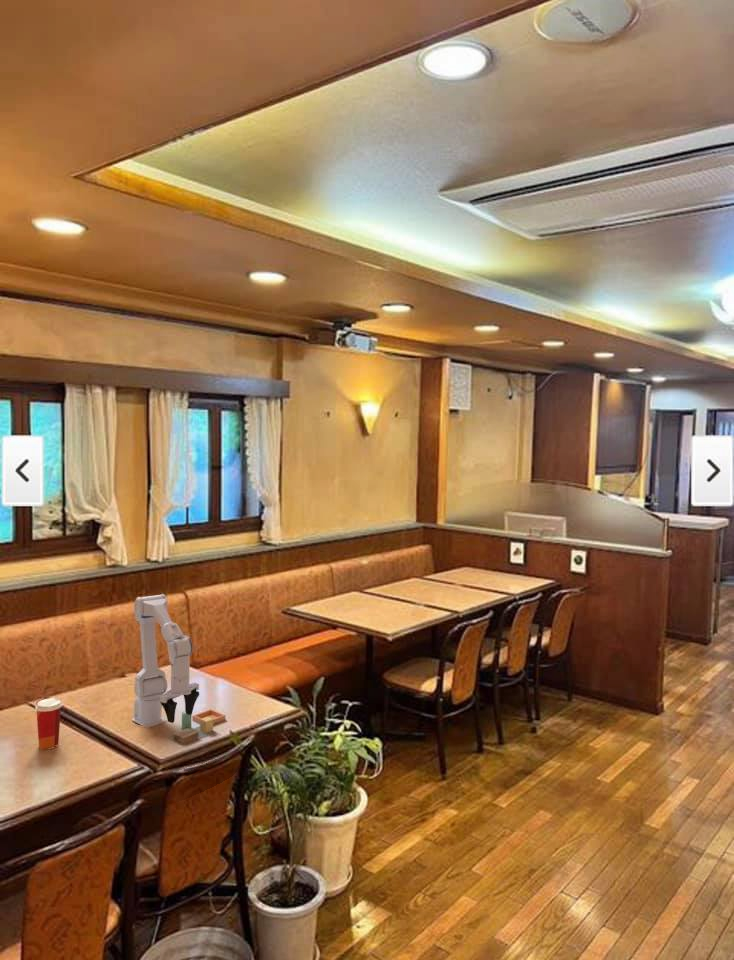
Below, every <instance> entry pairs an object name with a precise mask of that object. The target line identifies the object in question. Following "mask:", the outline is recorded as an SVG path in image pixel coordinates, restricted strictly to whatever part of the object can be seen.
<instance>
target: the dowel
mask: <svg viewBox="0 0 734 960" xmlns="http://www.w3.org/2000/svg"><path fill="white" fill-rule="evenodd" d="M192 716H193V714H192V715H188V714H186V711H185V710H183V711H182V712H181V731H182V730H184V729H187V728H190V729H192Z"/></svg>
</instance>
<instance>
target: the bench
mask: <svg viewBox="0 0 734 960" xmlns="http://www.w3.org/2000/svg"><path fill="white" fill-rule="evenodd" d="M191 729H192V730H194V731H197V732H198V738H197V739H195V740H192V741H190V742H187V743H185V744H182V743H180V742H178V741H175V740H173V738H174V735H173V736H170V737H168V739H169V740H171V741H173V742H175V743H177V744H179V745H181V746H186V745H189V744H192V743H194V742H196V741H199V740H201V739H204V738H207V737H209V736H211V735H214V734H216V733H218V732H217V731H215V730H214V724H213V719H212V718H210V717H205V718H202V719H200V724H199V726H196V727H194V728H191Z"/></svg>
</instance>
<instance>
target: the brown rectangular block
mask: <svg viewBox="0 0 734 960" xmlns="http://www.w3.org/2000/svg"><path fill="white" fill-rule="evenodd" d="M192 729H193V728H191V729H190V728H187V729H184V730H182V729H181V730H179V731H177V732H174V733H173V736H174V738H173V740H175V741H178V742H180V743H182V744H185V743H187V742H190V741H192V740H195V739H197V738H198V732H197V731H194V730H192ZM173 740H172V741H173ZM175 741H174V742H175Z"/></svg>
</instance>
